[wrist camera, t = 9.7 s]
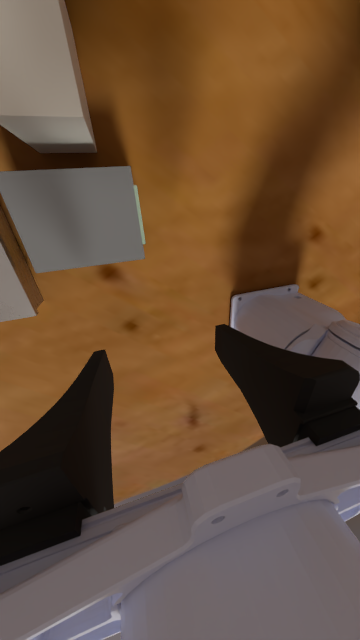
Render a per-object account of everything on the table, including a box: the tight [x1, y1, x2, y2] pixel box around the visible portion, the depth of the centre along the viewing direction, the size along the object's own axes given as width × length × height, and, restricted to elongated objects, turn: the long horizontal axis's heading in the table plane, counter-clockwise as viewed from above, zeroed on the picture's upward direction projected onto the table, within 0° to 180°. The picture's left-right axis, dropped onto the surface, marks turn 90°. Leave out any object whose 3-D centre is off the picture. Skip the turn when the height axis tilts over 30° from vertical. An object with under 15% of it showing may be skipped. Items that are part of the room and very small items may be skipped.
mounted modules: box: [0, 166, 146, 273], centre depth 12 cm, size 8×21×4 cm, turn 4°
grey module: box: [0, 0, 97, 153], centre depth 11 cm, size 4×6×7 cm
